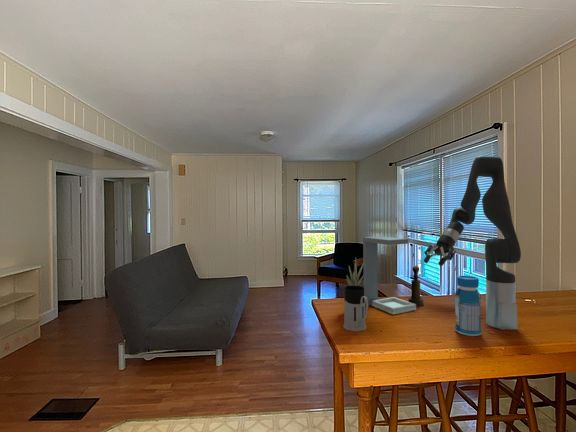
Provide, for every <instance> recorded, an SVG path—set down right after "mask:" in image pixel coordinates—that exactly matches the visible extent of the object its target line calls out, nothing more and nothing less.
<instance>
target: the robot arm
mask: <svg viewBox="0 0 576 432" xmlns="http://www.w3.org/2000/svg"><path fill="white" fill-rule="evenodd" d="M479 177H484V178H491V179H492V183H491V184H490V187H488V189H487V190H486V191H485V193H484V195H483V196H482V199H481V195H482V193H481V190H480V187H479V184H478V178H479ZM480 200H481V204H482V210H483V214H484V216H485V218H486V219H487V220H489V222H491V224H492V225H494V227H496V228H497V229H498V230H499V231H500V233H501V234H502V236H503V238H488V239H486V240H485V243H484V256H485V320H486V321H485V322H486V323H485V324H486V325H487V326H489V327H492V328H495V329H499V330H503V331H505V330H508V331H511V330H512V331H513V330H514V331H515V330H518V304H517V303H516V275H515V274H514V273H512V272H509V271H507V270H504V269H501V268H500V267H498V264H517V263H519V262H520V261H521V257H522V253H521V246H520V241H519V238H518V236H517V233H516V229H515V227H514V223H513V218H512V211H511V206H510V201H509V197H508V192H507V187H506V182H505V170H504V162H503V160H502V158H501V157H500V156H497V155H496V156H495V155H494V156H493V155H478V156H476V157H475V158H474V160H473V162H472V164H471V168H470V171H469V176H468V179H467V184H466V188H465V192H464V195H463V197H462V199H461V202H460V207H459V206H458V207H456V208H454V209H453V211H452V212H451V213H452V214H451V219H450V222H449V224H448V225H447V227H446V228H445V230H443V232H442V233H441V235H440V236H439V238H438V239H437V241H436V245H434V246H433V245H431V244H430V245H428V247H427V248H426V250H425V251H424V253H423V254H424V255H425V257H424V259H423V262H424V263H425V264H428V263H429V261H430V260H431V258H433V257H437V256H441V258H440V260H439V261H438V265H439V267H443V266H444V264H445V263H446V262H447V261H452V259H453V258H454V256H455V255H456V251H457V250H456V249H455V248H454V246H455V245H456V243H457V242H458V239H460V236H461V234H462V233H463V231H464V229H465V227H464V225H471V224H473V223H474V222H475V219H476V210H477V206H478V204H479V202H480Z"/></svg>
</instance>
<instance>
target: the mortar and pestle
mask: <svg viewBox="0 0 576 432" xmlns="http://www.w3.org/2000/svg"><path fill="white" fill-rule="evenodd" d="M412 271H413V274H412V275H413V279H411V296H410V297H409V298H408V302H411V303H414V304H416V307H417V306H423V305H425V304H424V298H423V297H421V280H420V279H419V275H418V273H419V271H420V267H419V266H418V265H414V266H412Z"/></svg>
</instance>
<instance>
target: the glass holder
mask: <svg viewBox="0 0 576 432" xmlns="http://www.w3.org/2000/svg"><path fill="white" fill-rule="evenodd" d="M344 287H345V288H344V296H343V297H344V299H343V301H344V302H343V305H344V306H343V307H344V308H343V309H344V311H343V314H344V315H343V318H344V319H343V320H344V322H343V326H342V327H343V328H344V329H345V330H347V331H350V330H351V331H350V332H361V331H362V330H363V331H365V330H367V325H366V318H367V316H368V311H369V305H368V300H367V298H366V297H365V296H364V288H363V287H364V286H348V285H347V286H346V285H345V286H344ZM365 300H366V305H365ZM363 331H362V332H363Z"/></svg>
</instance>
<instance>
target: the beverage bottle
mask: <svg viewBox="0 0 576 432" xmlns="http://www.w3.org/2000/svg"><path fill="white" fill-rule="evenodd" d="M456 283H457V287H458V288H457V289H456V290H455V293H454V296H455V299H454V305H455V309H454V310H455V313H454V315H455V324H454V329H455V331H456V332H457V333H459V334H461V335H464V336H468V337H478V336H481V334H482V328H481V327H482V324H481V323H482V319H481V318H482V313H481V312H482V306H483V305H482V302H481V299H482V296H481V293H480V292H479V290H478V288H479V285H480V284H479V283H480V281H479V277H476V276H471V275H458V276H457V277H456Z"/></svg>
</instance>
